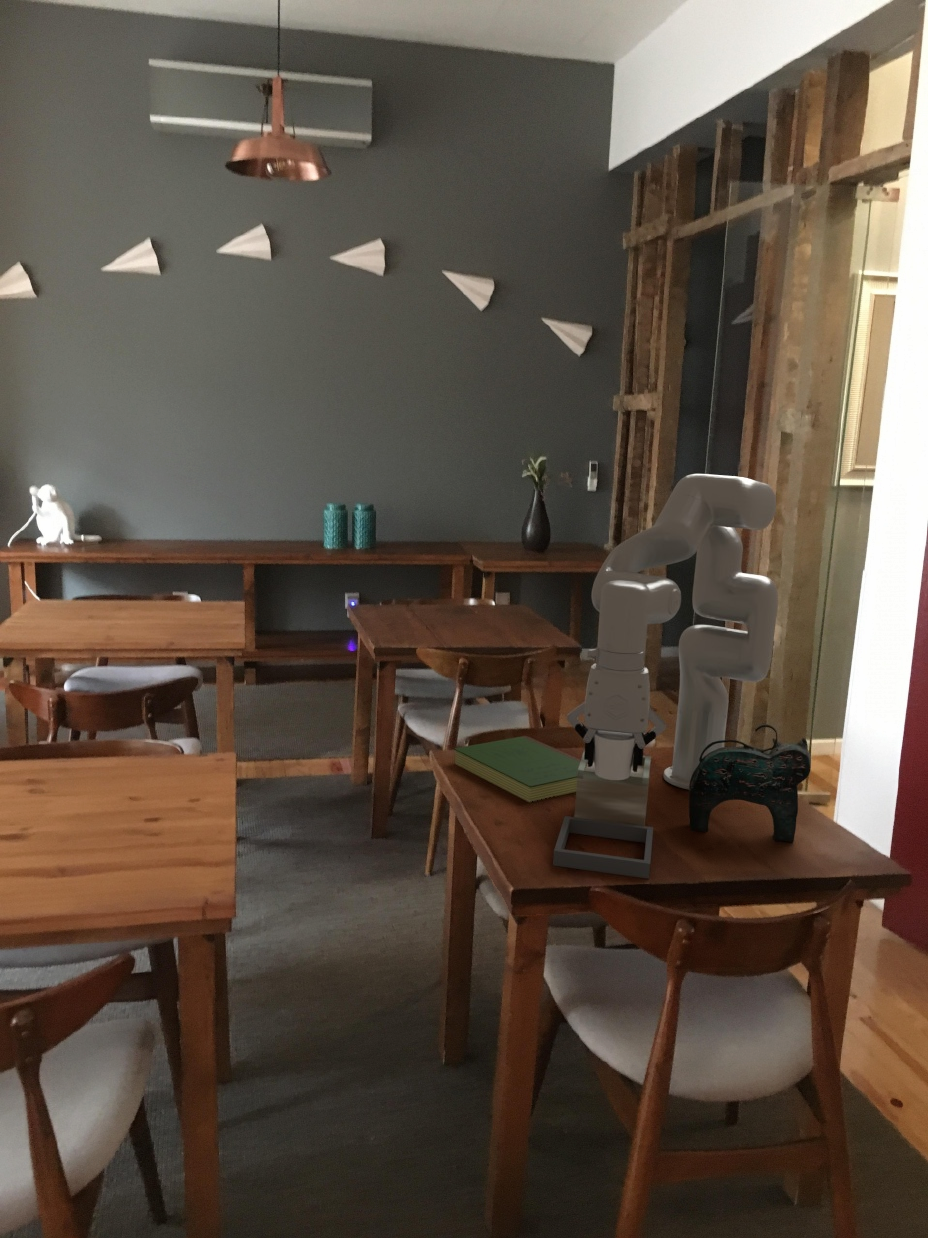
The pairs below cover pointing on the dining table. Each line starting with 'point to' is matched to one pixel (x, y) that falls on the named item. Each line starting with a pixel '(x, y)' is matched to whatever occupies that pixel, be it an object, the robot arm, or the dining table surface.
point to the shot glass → (613, 754)
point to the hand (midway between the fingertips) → (612, 765)
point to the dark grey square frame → (598, 860)
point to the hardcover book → (522, 767)
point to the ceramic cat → (751, 781)
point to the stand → (612, 795)
